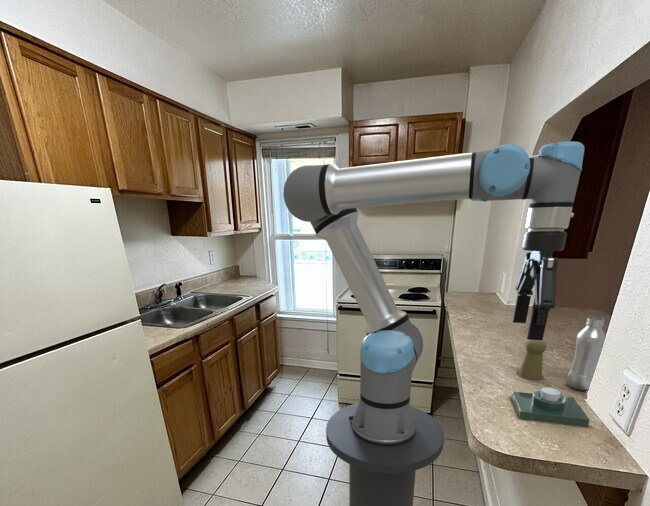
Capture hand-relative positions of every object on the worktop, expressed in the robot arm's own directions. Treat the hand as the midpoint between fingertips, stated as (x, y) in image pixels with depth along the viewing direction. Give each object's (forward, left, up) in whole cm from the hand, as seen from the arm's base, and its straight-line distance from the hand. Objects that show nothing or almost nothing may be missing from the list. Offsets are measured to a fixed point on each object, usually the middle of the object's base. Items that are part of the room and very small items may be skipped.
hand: (526, 330), depth 79 cm
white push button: (+8, +3, -18) cm, 20 cm away
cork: (+9, +26, -21) cm, 35 cm away
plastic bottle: (+20, +20, -21) cm, 36 cm away
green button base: (+8, +3, -21) cm, 23 cm away
